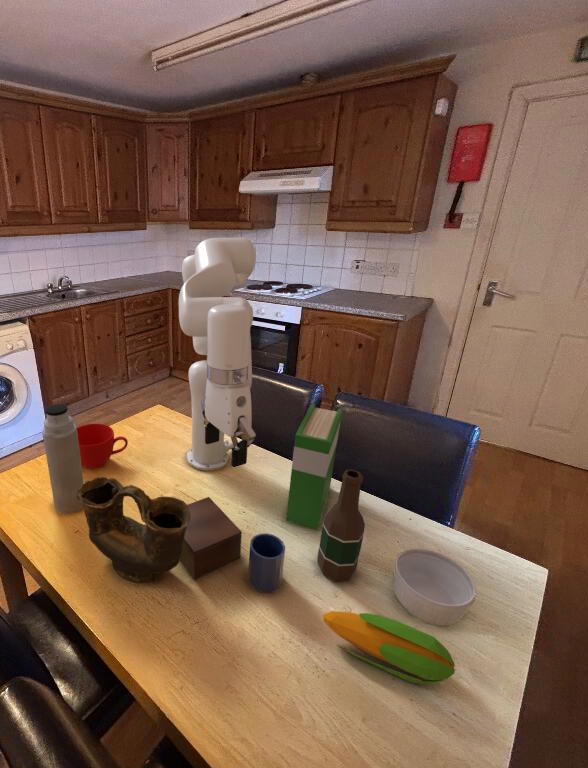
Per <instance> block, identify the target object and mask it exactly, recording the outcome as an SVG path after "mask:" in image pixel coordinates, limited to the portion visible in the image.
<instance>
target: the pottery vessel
mask: <svg viewBox="0 0 588 768" xmlns="http://www.w3.org/2000/svg"><path fill="white" fill-rule="evenodd" d="M125 497H129V498H132V500H133V501H134V503H136V506H137V508H138V512H139V515H140V520H141V522H143V523H144V524H143V523H141V522H139V521H138V520H135V519H134V518H132V517H130V516H126V515H124V499H125ZM77 499H78V500H79V501H80V502H81V504H82V505H83V508H82V509H83V512H84V516H85V520H86V523H87V527H88V538H89V540H90V542H91V543H92V544H93V545H94V547H95V548H97V550H98V551H99V552H100V553H102V555H104V556H105V557H106V558H107V559H109V560H110V561H111V566H112V567H113V570H114V571H115V573H116V574H117V575H118V576H119V577H121V578H122V579H124V580H126V581H129V582H132V583H137V584H140V583H148V582H151V581H152V582H153V581H155V580H156V579H157V578H158V577H159V574H162V573H167V572H168V573H169V571H171V570H172V569H174V568H175V567H177V566H178V564H180V562H181V560H180V557H181V553H182V543H183V540H184V535H185V530H186V528H187V526H188V522H189V520H190V517H191V516H190V510H189V508H188V503H186V502H185V501H184V500H182V499H180V498H177V497H174V496H165V495H164V496H163V495H162V496H157V497H156V498H151V497H150V496H149V495H147V494H146V493H145V491H144V490H143V489H142V488H140V487H138V486H137V485H136V486H135V485H133V484H130V485H125V486H124V485H123V484H122V483H121V482H119V480H118V479H116V478H114V477H106V476H97V477H94V478H93V479H91V480H86V481H84V484H83V485H82V488H81V489H80V490H78V494H77Z"/></svg>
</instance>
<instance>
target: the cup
mask: <svg viewBox="0 0 588 768" xmlns="http://www.w3.org/2000/svg"><path fill="white" fill-rule="evenodd" d="M285 553H286V546H285V543H284V541H282V539H281V538H280V537H278V536H276V535H274V534H272V533H271V534H270V533H266V532H265V533H258V534H256V535H254V536H253V537H252V538H251V540H250V543H249V553H248V554H249V555H248V568H247V580H248V583H249V584H250V586H251V587H252V588H253V589H255V590H256V591H258V592H260V593H264V594H272V593H274V592H277V590H279V588H280V587H281V585H282V579H283V571H284V561H285Z"/></svg>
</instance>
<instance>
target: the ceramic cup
mask: <svg viewBox="0 0 588 768" xmlns="http://www.w3.org/2000/svg"><path fill="white" fill-rule="evenodd" d="M77 434H78V442H79V450H80V458H81V465H82V467H84V468H86V469H88V470H96V469H97V470H98V469H101V468H102V467H104V466H105V465H106V463H108V461H109V460H110V458H111V456H112V455H116V454H119V453H122V452H123V451H125V449H127V447H128V443H129V441H128V439H127V438H126V437H125V436H116V437H115V431H114V429H113V428H112V427H111V426H109V425H108V424H104V423H88V424H84V425H83V424H82V425H80V426H78V427H77ZM118 441H124V443H125V444H124V445H123V446H122V447H121V448H118V449H116V450H114V446H115V444H116V443H117V442H118Z"/></svg>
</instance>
